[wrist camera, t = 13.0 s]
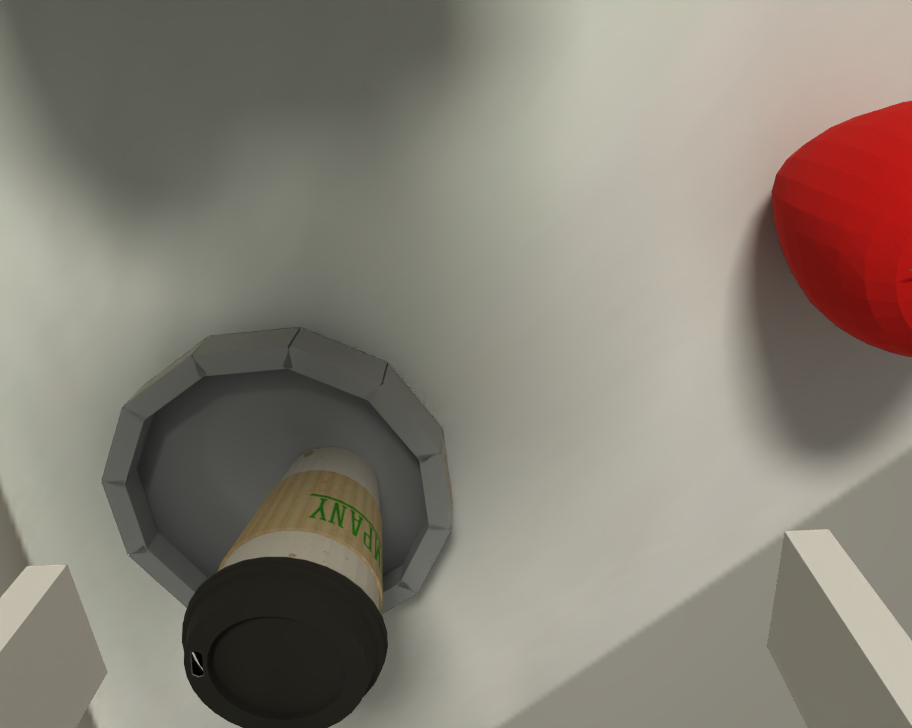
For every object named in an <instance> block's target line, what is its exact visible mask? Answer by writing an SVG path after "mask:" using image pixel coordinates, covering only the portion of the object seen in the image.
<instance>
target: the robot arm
mask: <svg viewBox="0 0 912 728" xmlns="http://www.w3.org/2000/svg"><path fill="white" fill-rule="evenodd" d="M767 647H768V649H769V651H770V653H771V655H772V657H773V659H774V661H775V663H776V665H777V667H778V669H779V671H780V673H781V675H782V677H783V679H784V681H785V683H786V685H787V687H788V689H789V691H790V693H791V695H792V697H793V699H794V701H795V703H796V705H797V707H798V709H799V711H800V713H801V715H802V717H803V719H804V721H805V723H806V725H807V727H808V728H912V641H911V640H910V638H909V637H908V635H907V634H906V633H905V631H904V630H903V629H902V627H901V626H900V625H899V623H898V622H897V621H896V619H895V618H894V617H893V615H892V614H891V613H890V611H889V610H888V609H887V607H886V606H885V605H884V603H883V602H882V601H881V599H880V598H879V597H878V595H877V594H876V593H875V591H874V590H873V589H872V587H871V586H870V585H869V583H868V582H867V580H866V579H865V578H864V577H863V575H862V574H861V572H860V571H859V570H858V569H857V567H856V566H855V564H854V563H853V562H852V560H851V559H850V558H849V556H848V555H847V554H846V552H845V551H844V550H843V548H842V547H841V546H840V544H839V543H838V542H837V540H836V539H835V538H834V536H833V535H832V534H831V532H830V531H829V530H828V529H827V530H826V529H825V530H803V531H785V533H784V539H783V545H782V552H781V559H780V565H779V571H778V579H777V584H776V591H775V597H774V604H773V610H772V617H771V623H770V629H769V637H768V642H767ZM106 674H107V670H106V667H105V664H104V662H103V659H102V656H101V654H100V651H99V648H98V646H97V643H96V640H95V638H94V635H93V632H92V630H91V627H90V624H89V621H88V619H87V616H86V613H85V611H84V608H83V605H82V603H81V600H80V597H79V595H78V592H77V589H76V587H75V584H74V581H73V579H72V576H71V573H70V571H69V568H68V565H67V564H63V565H41V566H27V567H26V568H25V569H24V571H23V572H22V573H21V574H20V575H19V576H18V578H17V579H16V580H15V581H14V583H12V585H11V586H10V587H9V588H8V589H7V591H6V592H5V593H4V594H3V595H2V597H1V598H0V728H76V726H77V725H78V723H79V721H80V720H81V717H82V716H83V714H84V713H85V711H86V709H87V707H88V706H89V704H90V702H91V700H92V699H93V697H94V695H95V693H96V691H97V690H98V688H99V686H100V684H101V683H102V681H103V679H104V677H105V676H106Z"/></svg>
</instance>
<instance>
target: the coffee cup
mask: <svg viewBox="0 0 912 728" xmlns="http://www.w3.org/2000/svg"><path fill="white" fill-rule="evenodd" d="M382 604H383V580H382V518H381V513H380V487H379V481H378V478H377V475H376V473H375V472H374V470H373V468H372V467H371V466H370V465H369V464H368V462H367V461H365V460H364V459H363V458H362V457H360V456H359V455H357V454H355V453H353V452H351V451H348V450H345V449H342V448H336V447H322V448H316V449H313V450H310V451H308V452H306V453H304V454H302V455H301V456H299V457H298V458H297V459H296V460H295V461H294V462H293V463H292V465H291V466H290V468H289V469H288V471H287V472H286V474H285V475H284V477H283V478H282V480H281V481H280V482H279V483H278V484H277V485H276V486H275V487H274V488H273V489H272V490H271V491H270V493H269V494H268V496H267V497H266V499H265V500H264V502H263V503H262V504H261V506H260V507H259V509H258V510H257V512H256V513H255V514H254V516H253V517H252V519H251V520H250V522H249V523H248V525H247V526H246V527H245V529H244V530H243V532H242V533H241V535H240V536H239V537H238V539H237V540H236V542H235V543H234V545H233V546H232V548H231V549H230V550H229V552H228V553H227V555H226V556H225V558H224V559H223V561H222V562H221V564H220V566H219V569H218V572H216V573H214V574H213V575H211V576H210V577H209V578H208V579H207V580H205V581H204V582H203V583H202V584H201V585H200V586H199V587H198V588H197V590H196V591H195V593H194V595H193V596H192V598H191V599H190V601H189V604H188V607H187V610H186V613H185V616H184V621H183V630H182V644H183V648H184V666H185V670H186V675H187V678H188V680H189V682H190V684H191V686H192V688H193V690H194V692H195V693H196V694H197V695H198V697H199V698H200V699H201V701H202V702H203V703H204V704H205V705H207V706H208V707H209V708H210V709H211V710H212V711H213V712H215V713H216V714H218V715H219V716H221V717H222V718H224V719H226V720H227V721H229V722H231V723H233V724H236V725H238V726H240V727H242V728H328V727H330V726H332V725H334V724H336V723H338V722H340V721H341V720H343V719H344V718H345V717H346V716H348V715H349V714H350V713H352V711H353V710H354V709H355V708H356V707H357V705H358V704H359V703H360V702H361V700H362V698H363V697H364V696H365V695H366V693H367V692H368V691H369V690H370V689H371V687H372V686H373V685H374V684H375V682H376V680H377V678H378V676H379V674H380V672H381V670H382V667H383V665H384V662H385V658H386V653H387V648H388V641H387V630H386V627H385V624H384V621H383V617H382V615H381V609H382ZM192 652H194V653H195V655H196V658H197V660H198V662H199V664H200V666H201V667H202V668H203V670H202V669H201V667H200V666H199V665H198V664H197V662H196V661H195V659H194V657H193V655H192Z"/></svg>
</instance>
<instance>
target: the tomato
mask: <svg viewBox="0 0 912 728" xmlns="http://www.w3.org/2000/svg"><path fill="white" fill-rule="evenodd" d="M772 202H773V213H774V220H775V226H776V230H777V234H778V238H779V241H780V245H781V247H782V250H783V253H784V256H785V258H786V260H787V263H788V265H789V267H790V270H791V272H792V274H793V275H794V277H795V279H796V280H797V282H798V284H799V285H800V287H801V288H802V290H803V291H804V293H805V295H806V296H807V298H808V299H809V301H810V302H811V303H812V304H813V305H814V306H815V307H816V308H817V309H818V310H819V311H820V312H822V313H823V314H824V315H825V316H826V317H827V318H828V319H829V320H830V321H831V322H832V323H834V324H835V325H836V326H837V327H839V328H840V329H842V330H844V331H845V332H847V333H849V334H850V335H852V336H854V337H856V338H857V339H859V340H861V341H863V342H865V343H867V344H869V345H872V346H874V347H877V348H880V349H883V350H885V351H888V352H891V353H895V354H900V355H904V356H908V357H912V101H908V102H902V103H899V104H896V105H892V106H889V107H886V108H883V109H880V110H877V111H873V112H870V113H867V114H863V115H860V116H857V117H854V118H852V119H850V120H847V121H845V122H843V123H840V124H838V125H836V126H833V127H831V128H829V129H828V130H826V131H825V132H823V133H822V134H820V135H818V136H817V137H815V138H814V139H812V140H811V141H809V142H808V143H806V144H805V145H803V146H802V147H801V148H800V149H798V150H797V151H796V152H795V153H794V154H793V155H792V156H790V157H789V158H788V159H787V160H786V161H785V163H784V164H783V166H782V167H781V169H780V170H779V171H778V173H777V174H776V178H775V181H774V185H773V189H772Z"/></svg>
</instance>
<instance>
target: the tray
mask: <svg viewBox="0 0 912 728" xmlns="http://www.w3.org/2000/svg"><path fill="white" fill-rule="evenodd" d="M386 364H387V362H385V361H383V360H380V359H378V358H375V357H373V356H370V355H368V354H365V353H363V352H360V351H358V350H355V349H353V348H351V347H348V346H346V345H343V344H341V343H338V342H336V341H333V340H331V339H328V338H326V337H324V336H321V335H319V334H316V333H314V332H311V331H309V330H306V329H304V328H301V329H300V327H297V328H287V329H276V330H266V331H255V332H245V333H234V334H224V335H213V336H209V337H207V338H206V339H204V340H203V341H202V342H200V343H199V344H198V345H196V346H195V347H194V348H192V349H191V350H190V351H188V352H187V353H186V354H184V355H183V356H182V357H180V358H179V359H178V360H176V361H175V362H174V363H172V364H171V365H170V366H168V367H167V368H166V369H164V370H163V371H162V372H160V373H159V374H158V375H156V376H155V377H154V378H153V379H151V380H150V381H149V382H147V383H146V384H145V385H144V386H143V387H142V388H141V389H140V390H139V391H138V392H137V393H136V394H135V395H134V396H133V397H132V398H131V399H130V400H129V401H128V402H127V403H126V404H125V405H124V406H123V407H122V410H121V413H120V417H119V420H118V424H117V428H116V431H115V435H114V438H113V442H112V445H111V449H110V452H109V456H108V459H107V463H106V467H105V470H104V474H103V477H102V484H103V487H104V490H105V493H106V496H107V498H108V501H109V504H110V507H111V509H112V512H113V515H114V518H115V521H116V523H117V526H118V529H119V532H120V534H121V537H122V540H123V543H124V546H125V548H126V551H127V554H130V555H129V556H130V557H131V558H132V559H133V560H134V561H135V562H136V563H137V564H138V565H140V566H141V567H142V568H143V569H144V570H145V571H146V572H147V573H148V574H150V575H151V576H152V577H153V578H154V579H155V580H156V581H157V582H159V583H160V584H161V585H162V586H163V587H164V588H165V589H166V590H167V591H169V592H170V593H171V594H172V595H173V596H174V597H175V598H176V599H177V600H179V601H180V602H181V603H182V604H183V605H184V606H185V607H186V608H187V607H188V604H189V601H190V599H191V598H192V596H193V595H194V593H195V591H196V590H197V588H198V587H199V586H200V585H201V584H202V583H203V582H204V581H205V580H207V579H208V578H209V577H210V576H211V575H213V574H214V573H216V572H218V569H219V566H220V564H221V562H222V561H223V559H224V558H225V556H226V555H227V553H228V552H229V550H230V549H231V548H232V546H233V545H234V543H235V542H236V540H237V539H238V537H239V536H240V535H241V533H242V532H243V530H244V529H245V527H246V526H247V525H248V523H249V522H250V520H251V519H252V517H253V516H254V514H255V513H256V512H257V510H258V509H259V507H260V506H261V504H262V503H263V502H264V500H265V499H266V497H267V496H268V494H269V493H270V491H271V490H272V489H273V488H274V487H275V486H276V485H277V484H278V483H279V482H280V481H281V480H282V478H283V477H284V475H285V474H286V472H287V471H288V469H289V468H290V466H291V465H292V463H293V462H294V461H295V460H296V459H297V458H298V457H299V456H301V455H302V454H304V453H306V452H308V451H310V450H313V449H316V448H322V447H336V448H342V449H345V450H348V451H351V452H353V453H355V454H357V455H359V456H360V457H362V458H363V459H364V460H365V461H367V462H368V464H369V465H370V466H371V467H372V468H373V470H374V472H375V473H376V475H377V478H378V481H379V487H380V513H381V518H382V580H383V604H382V609H381V614H383V613H384V612H386V611H388V610H390V609H391V608H393V607H395V606H397V605H398V604H400V603H402V602H404V601H405V600H407V599H409V598H411V597H412V596H414V595H416V593H418V591H419V589H420V587H421V586H422V584H423V582H424V580H425V578H426V576H427V574H428V573H429V571H430V569H431V567H432V565H433V563H434V561H435V560H436V558H437V556H438V554H439V552H440V550H441V548H442V547H443V545H444V543H445V541H446V539H447V537H448V535H449V534H450V532H451V525H452V495H451V488H450V480H449V472H448V465H447V457H446V449H445V441H444V434H443V430H442V427H441V426H440V425H439V424H438V422H437V421H436V420H435V419H434V418H433V416H432V415H431V414H430V413H429V411H428V410H427V409H426V408H425V407H424V405H423V404H422V403H421V402H420V401H419V399H418V398H417V397H416V396H415V395H414V393H413V392H412V391H411V390H410V389H409V387H408V386H407V385H406V384H405V383H404V381H403V380H402V379H401V378H400V377H399V375H398V374H397V373H396V372H395V371H394V369H393V368H392V367H391V366H390V365H389V364H387V365H386Z"/></svg>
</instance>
